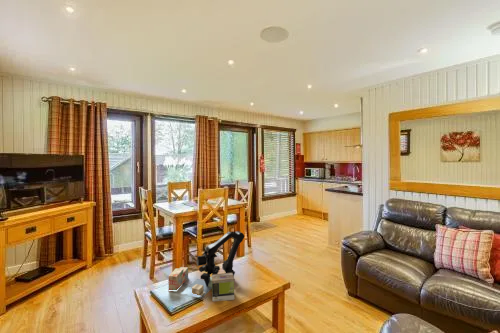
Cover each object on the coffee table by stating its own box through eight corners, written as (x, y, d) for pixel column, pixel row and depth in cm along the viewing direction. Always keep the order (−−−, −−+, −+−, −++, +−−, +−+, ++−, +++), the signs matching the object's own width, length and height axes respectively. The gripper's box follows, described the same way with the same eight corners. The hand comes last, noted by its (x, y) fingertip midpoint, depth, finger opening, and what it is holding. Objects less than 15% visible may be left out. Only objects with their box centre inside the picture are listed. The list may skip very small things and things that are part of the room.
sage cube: (215, 284, 187) (215, 277, 187) (211, 287, 183) (211, 280, 182) (209, 282, 189) (209, 276, 189) (205, 285, 185) (205, 279, 184)
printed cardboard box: (180, 278, 198) (180, 263, 197) (188, 278, 197) (188, 263, 196) (168, 292, 176) (168, 275, 176) (176, 293, 176) (176, 276, 175)
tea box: (232, 292, 177) (233, 272, 176) (234, 300, 167) (234, 278, 167) (211, 294, 174) (211, 273, 174) (212, 302, 164) (212, 280, 164)
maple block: (203, 292, 175) (203, 285, 175) (198, 296, 170) (198, 289, 170) (196, 290, 178) (196, 283, 177) (191, 294, 172) (191, 287, 172)
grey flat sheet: (217, 283, 189) (217, 283, 189) (200, 299, 167) (200, 298, 167) (197, 279, 196) (197, 278, 196) (179, 294, 174) (179, 293, 174)
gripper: (207, 256, 197) (207, 276, 198) (194, 266, 180) (194, 287, 180) (220, 259, 193) (220, 278, 193) (207, 268, 176) (207, 290, 176)
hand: (210, 283), depth 186 cm, fingers open, 9 cm apart
